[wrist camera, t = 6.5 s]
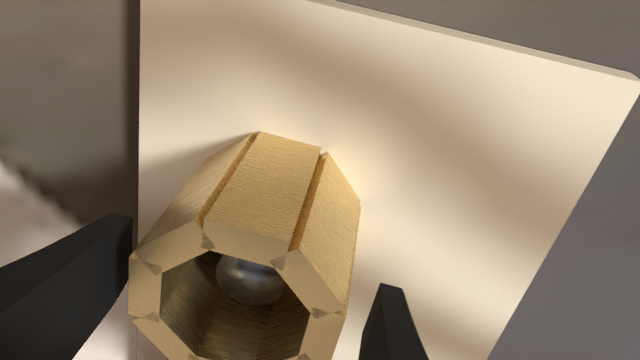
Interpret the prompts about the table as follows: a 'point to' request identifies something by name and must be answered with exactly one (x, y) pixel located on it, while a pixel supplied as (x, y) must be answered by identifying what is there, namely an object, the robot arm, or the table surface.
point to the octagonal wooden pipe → (250, 255)
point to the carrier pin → (249, 281)
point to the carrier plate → (387, 143)
